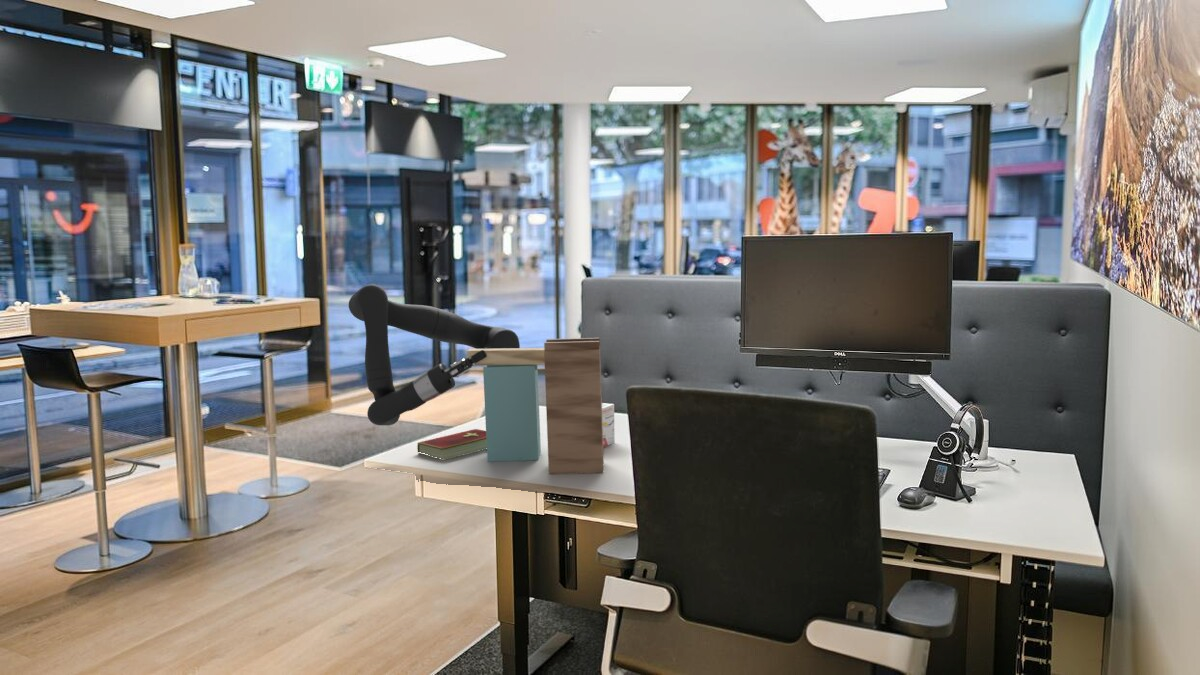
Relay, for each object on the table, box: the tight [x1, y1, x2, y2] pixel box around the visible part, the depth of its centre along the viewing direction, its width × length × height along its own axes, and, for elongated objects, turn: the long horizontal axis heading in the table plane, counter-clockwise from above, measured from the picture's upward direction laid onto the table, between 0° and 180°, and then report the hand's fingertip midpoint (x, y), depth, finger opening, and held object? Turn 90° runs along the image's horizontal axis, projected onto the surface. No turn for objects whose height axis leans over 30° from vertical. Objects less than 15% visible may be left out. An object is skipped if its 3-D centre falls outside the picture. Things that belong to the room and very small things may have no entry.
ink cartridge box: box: [602, 402, 616, 449], centre depth 250 cm, size 9×5×15 cm, turn 149°
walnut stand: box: [543, 337, 605, 475], centre depth 225 cm, size 10×14×34 cm
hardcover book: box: [416, 428, 487, 460], centre depth 250 cm, size 12×21×4 cm, turn 137°
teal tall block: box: [482, 365, 542, 462], centre depth 239 cm, size 8×14×26 cm, turn 89°
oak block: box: [466, 347, 545, 366], centre depth 237 cm, size 4×25×4 cm, turn 89°
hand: (486, 351), depth 237 cm, fingers closed on oak block, 4 cm apart
